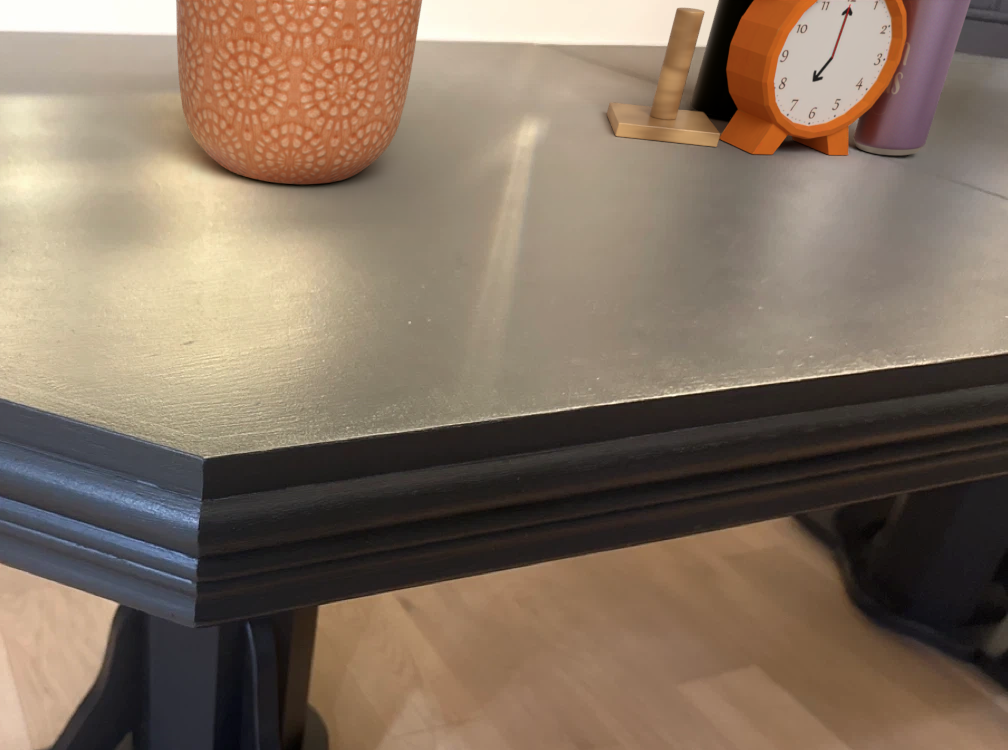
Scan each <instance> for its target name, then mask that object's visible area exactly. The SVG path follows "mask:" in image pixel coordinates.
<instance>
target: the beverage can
mask: <svg viewBox="0 0 1008 750" xmlns="http://www.w3.org/2000/svg"><path fill="white" fill-rule="evenodd" d="M971 1H972V0H902V2H903V4H904V7H905V10H906V24H907V37H906V41H905V44H904V48H903V52H902V56H901V60H900V63H899V65H898V67H897V69H896V71H895V73H894V75H893V77H892V79H891V81H890V83H889V85H888V87H887V88H886V89H885V90H884V92H883V93H882V94H881V95H880V97H879V98H878V99H877V101H876V102H875V103H874V104H873V106H872V107H871V108H870V109H869V110H868V111H866V112H865V113H864V114H863V115H862V116H860V117H859V118H858V119H857V123H856V127H855V130H854V134H853V141H854V144H855V146H856V148H857V149H859V150H861V151H863V152H867V153H870V154H875V155H883V156H907V155H913V154H916V153H917V152H919V151H920V150H921V149H922V148H923V147H924V146H925V145H926V142H927V140H928V137H929V133H930V130H931V127H932V124H933V120H934V118H935V115H936V111H937V109H938V105H939V102H940V99H941V97H942V96H941V95H942V92H943V89H944V86H945V84H946V79H947V77H948V74H949V70H950V67H951V64H952V61H953V59H954V58H953V57H954V54H955V52H956V48H957V45H958V42H959V39H960V36H961V33H962V30H963V26H964V23H965V20H966V16H967V13H968V11H969V7H970V4H971Z"/></svg>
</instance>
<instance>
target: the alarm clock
mask: <svg viewBox="0 0 1008 750" xmlns="http://www.w3.org/2000/svg"><path fill="white" fill-rule="evenodd" d="M906 37H907V24H906V10H905V7H904V4H903V2H902V0H754V1H753V2H752V4H751V5H750V6H749V8H748V9H747V11H746V12H745V14H744V15H743V16H742V18H741V20H740V22H739V25H738V27H737V29H736V32H735V34H734V37H733V39H732V41H731V44H730V50H729V56H728V62H727V68H726V71H727V79H728V87H729V93H730V95H731V97H732V99H733V100H734V102H735V104H736V106H737V108H738V110H737V111H736V113H735V114H734V116H733V117H732V119H731V118H730V120H729V122H728V123H727V125H726V127H725V128H724V129H723V131H722V132H721V133H720V137H719V140H721V141H723V142H725V143H728V144H729V145H732V146H734V147H736V148H738V149H740V150H743V151H745V152H746V153H749V154H751V155H774V153H775V152H776V151H777V150H778V148H779V147H780V146H781V144H782V143H783V142H784V140H785V139H786V138H787V137H788V136H789V137H791V139H792V141H794V142H796V143H800V144H802V145H804V146H807V147H809V148H812V149H814V150H816V151H819V152H821V153H824V154H826V155H828V156H849V128H850V127H849V126H851V125H853V123H855V122H856V121H858V119H859V117H860V116H862V115H863V114H864V113H865V112H866V111H868V110H869V109H870V108H871V107H872V106H873V104H874V103H875V102H876V101H877V99H878V98H879V97H880V95H881V94H882V93H883V92H884V90H885V89H886V88H887V87H888V85H889V83H890V81H891V79H892V77H893V75H894V73H895V71H896V69H897V67H898V65H899V63H900V60H901V56H902V52H903V48H904V44H905V41H906Z"/></svg>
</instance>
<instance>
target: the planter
mask: <svg viewBox="0 0 1008 750" xmlns="http://www.w3.org/2000/svg"><path fill="white" fill-rule="evenodd" d="M175 5H176V6H175V7H176V11H175V12H176V49H177V50H176V51H177V53H176V54H177V70H178V71H177V72H178V85H179V93H180V100H181V108H182V111H183V112H182V113H183V116H184V119H185V122H186V125H187V127H188V130H189V131H190V133H191V135H192V137H193V138H194V140H195V141H196V143H197V144H198V145H199V146H200V148H201V149H202V150H203V151H204V152H205V153H206V154H207V155H208V156H209V157H210V158H211V159H212V160H213V161H214V162H215V163H217V164H218V165H220V166H221V167H222V168H224V169H226V170H227V171H229V172H231V173H233V174H236V175H239V176H243V177H246V178H250V179H253V180H258V181H263V182H270V183H277V184H286V185H317V184H319V185H320V184H329V183H336V182H340V181H344V180H346V179H350V178H352V177H354V176H355V175H357V174H359V173H360V172H362V171H364V170H365V169H367V168H369V166H371V165H372V164H373V163H375V162H376V161H377V160H378V159H379V158H380V157H381V156H382V155H383V154H384V153H385V152H386V150H387V149H388V147H389V146H390V144H392V141H393V140H394V138H395V136H396V133H397V131H398V129H399V126H400V123H401V120H402V115H403V112H404V108H405V104H406V100H407V95H408V90H409V84H410V79H411V74H412V69H413V62H414V57H415V50H416V44H417V38H418V30H419V22H420V17H421V11H422V5H423V0H175Z"/></svg>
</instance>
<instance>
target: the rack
mask: <svg viewBox="0 0 1008 750" xmlns="http://www.w3.org/2000/svg"><path fill="white" fill-rule="evenodd" d="M705 13H706V12H705V10H703V9H699V8H694V7H693V8H692V7H677V8H676V11H675V14H674V17H673V21H672V26H671V30H670V33H669V34H670V35H669V38H668V41H667V46H666V50H665V53H664V57H663V61H662V65H661V69H660V72H659V77H658V81H657V85H656V87H655V92H654V96H653V99H652V103H651V106H649V105H641V104H630V103H621V102H612V101H610V102H609V103H608V107H607V112H606V116H607V119H608V121H609V124H610V126H611V128H612V131H613V133H614V136H615V137H621V138H627V139H637V140H647V141H656V142H666V143H676V144H683V145H692V146H693V145H694V146H704V147H712V148H717V147H718V145H719V141H720V139H719V137H720V135H721V132H720V131H719V129H718V128H717V127H716V126H715V125H714V123H713V122H712V121H711V120H710V118H709V117H708V116H707V114H705V113H704V112H698V111H696V110H690V109H689V110H687V109H680V106H681V102H682V98H683V95H684V92H685V88H686V84H687V80H688V77H689V73H690V69H691V65H692V61H693V57H694V53H695V51H696V46H697V42H698V38H699V35H700V32H701V27H702V24H703V21H704V16H705Z"/></svg>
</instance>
